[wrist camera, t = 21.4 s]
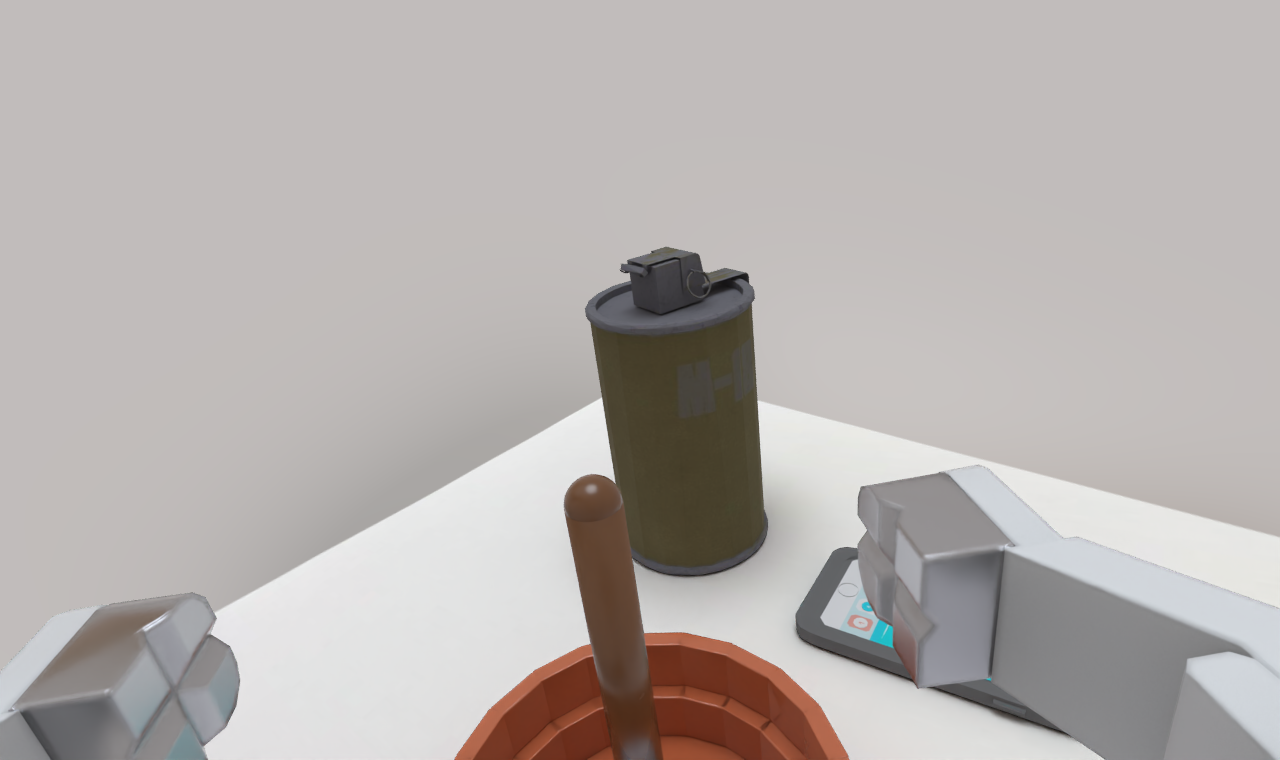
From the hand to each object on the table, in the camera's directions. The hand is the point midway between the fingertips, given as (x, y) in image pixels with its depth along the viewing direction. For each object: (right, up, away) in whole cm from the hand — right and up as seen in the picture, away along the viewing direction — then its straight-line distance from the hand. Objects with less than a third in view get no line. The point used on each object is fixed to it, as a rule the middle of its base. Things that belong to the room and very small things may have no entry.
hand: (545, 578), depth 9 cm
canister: (+5, -8, +42) cm, 43 cm away
